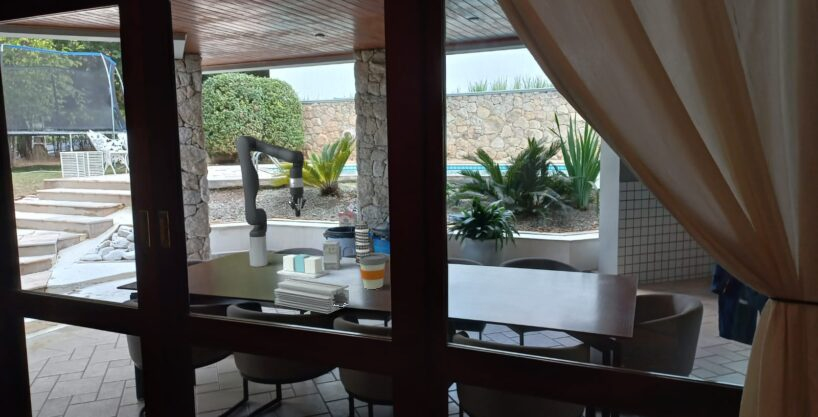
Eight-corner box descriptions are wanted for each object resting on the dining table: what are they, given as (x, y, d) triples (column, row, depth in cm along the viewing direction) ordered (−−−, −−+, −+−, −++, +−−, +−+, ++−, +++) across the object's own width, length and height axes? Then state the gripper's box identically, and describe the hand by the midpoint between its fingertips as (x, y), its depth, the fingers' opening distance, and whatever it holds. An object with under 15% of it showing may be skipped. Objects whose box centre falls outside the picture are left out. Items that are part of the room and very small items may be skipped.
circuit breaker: (342, 264, 325) (341, 239, 323) (337, 270, 310) (335, 243, 309) (329, 264, 325) (328, 239, 323) (323, 270, 311) (322, 243, 309)
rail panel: (277, 273, 306) (276, 257, 305) (292, 269, 316) (291, 253, 315) (314, 278, 293) (313, 261, 292) (328, 273, 303) (328, 256, 302)
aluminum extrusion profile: (328, 314, 232) (326, 290, 231) (274, 304, 248) (273, 282, 247) (349, 305, 244) (348, 283, 243) (297, 296, 260) (296, 275, 259)
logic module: (295, 271, 304) (294, 255, 303) (301, 269, 308) (300, 254, 307) (304, 272, 301) (303, 256, 300) (310, 270, 305) (309, 254, 304)
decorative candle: (351, 264, 324) (350, 221, 321) (361, 261, 332) (359, 219, 329) (364, 266, 319) (363, 222, 316) (374, 262, 327) (372, 220, 324)
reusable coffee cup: (366, 292, 264) (365, 260, 262) (356, 286, 275) (355, 256, 273) (390, 288, 270) (389, 257, 268) (379, 282, 281) (378, 253, 279)
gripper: (299, 185, 323) (300, 215, 325) (283, 187, 311) (285, 218, 313) (309, 185, 319) (310, 215, 321) (293, 187, 308) (295, 218, 310)
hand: (298, 216), depth 317 cm, fingers closed
